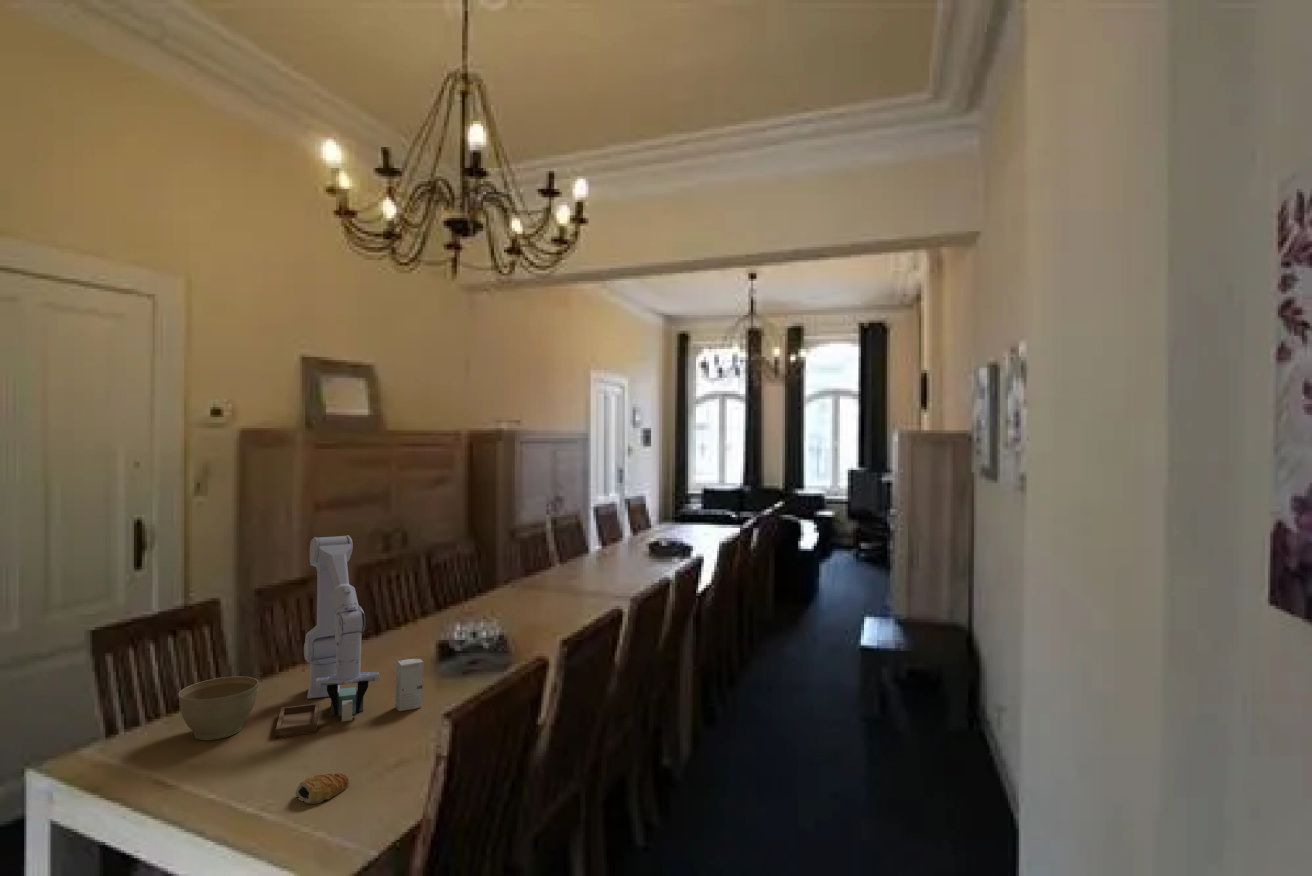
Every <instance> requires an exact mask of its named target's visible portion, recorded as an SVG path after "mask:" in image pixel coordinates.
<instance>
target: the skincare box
mask: <svg viewBox="0 0 1312 876" xmlns="http://www.w3.org/2000/svg"><path fill="white" fill-rule="evenodd" d="M395 678H396V679H395V704H394V707H395V708H396V710H397V711H398V712H404V711H409V710H414V709H416V710H417V709H420V708H422V706H423V703H422V702H423V682H424V681H423V680H424V661H423V660H422V659H421V658H419V657H418V658H411V659H410V658H409V659H403V660H397V661H396V677H395Z"/></svg>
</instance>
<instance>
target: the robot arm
mask: <svg viewBox="0 0 1312 876" xmlns="http://www.w3.org/2000/svg"><path fill="white" fill-rule="evenodd" d="M309 543H310V545H309V563H310V564H309V565H310V566H311V567H315V569H316V573H317V575H316V576H317V577H316V578H317V580H316V581H317V582H316V585H317V588H316V625H314V627H313V628H312V629H310V630H309V631H307V633H306V634H305V640H304V644H303V645H304V646H303V655H304V660H305V661H306V662H307V663H309V665H310V666H309V686H308V689H307V696H306V699H307V700H310V699H317V698H327V697H328V698H330V701H332V704H333V707H334V711H335V715H334V716H338V713H339V707H338V692H339V689H341V686H344V685H351V684H352V685H353V684H357V689H356V690H357V704H356V714H357V713H360V712H359V709H360V705H361V702H362V699H363V700H364V697H365V694H366V692H367V691H368V688H369V683H370V682H375V683H377V682H380V680H379V679H380V673H379V671H373V672H372V671H371V672H370V671H369V672H367V671H365V672H364V671H363V672H361V668H362V667H361V665H362V633H363V632H365V630H366V616H365V615H366V614H365V612H364V609H363V608H362V606H361V605H359V601H358V597H357V592H356V588H355V587H354V586H353V585H351V584H350V577H349V570H348V569H349V568H348V562H349V561H350V560H351V555H352V553H353V550H354V549H353V547H354V546H353V545H354V544H353V539H352V537H351V536H350V535H346V534H345V535H340V536H338V535H337V536H323V537H322V536H321V537H316V536H314V537H313V538H312V539H311V540H310V542H309Z"/></svg>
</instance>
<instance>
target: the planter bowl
mask: <svg viewBox="0 0 1312 876" xmlns="http://www.w3.org/2000/svg"><path fill="white" fill-rule="evenodd" d="M258 688H259V680H258V679H257V678H254V677H251V676H241V675H239V676H238V675H237V676H224V677H217V678H211V679H207V680H204V681H200V682H197V683H193V684H191V685H188V686H186V687H184V688H182V689H181V690H180V691H179V692H178V699H179V708H180V714H181V716H182V719H183V721H184V722H185V724H186V725H187V727H188V728H189V729H190V730H191V731H192V732H193V734H194V738H195V739H197V740H201V741H212V740H213V741H214V740H220V739H225V738H227V737H231V736H233V735H235V734H237V733H239V732H240V731H241V730H242V729H243V724H244V723H245V721H246V720H247V719H248V717H250V714H251V713H252V711H253V709H254V706H255V703H256V700H257V696H258V695H257V694H258Z"/></svg>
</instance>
